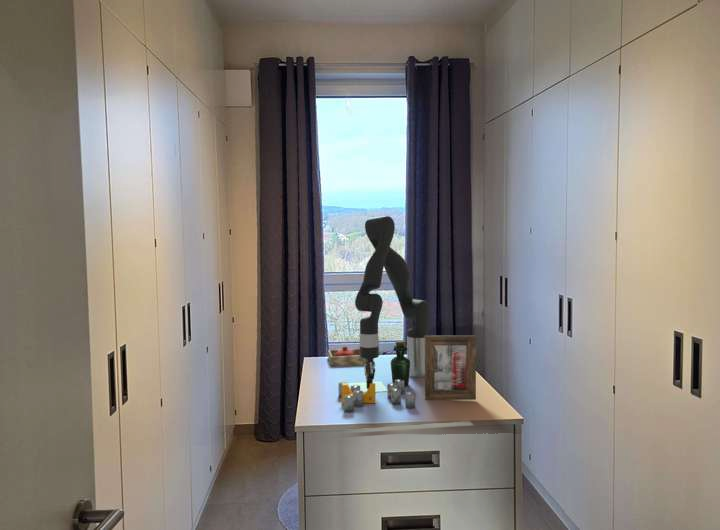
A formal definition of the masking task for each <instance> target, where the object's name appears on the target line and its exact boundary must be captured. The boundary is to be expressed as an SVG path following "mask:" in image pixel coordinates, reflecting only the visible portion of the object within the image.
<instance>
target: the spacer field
mask: <svg viewBox="0 0 720 530" xmlns="http://www.w3.org/2000/svg"><path fill="white" fill-rule="evenodd" d="M343 383H348V382H346V381H341V382H338V384H337V385H338V389H337V390H338V391H337V392H338V398H341V399H342V384H343ZM386 389H387V391H386V393H387V395H386V396H387V397H386V398H387V399H389V400H391V402H390V403H391V404H392V405H393V406H395V405H396V406H398V405H401V404H402V395H404V396H405V397H404V401H405V403H404V407H405V408H407V409H409V410H410V409H411V410H412V409H416V392H414V391H406V392H405V387H404V380H403V379H396V380H395V383H393V382H389V383H387V386H386ZM351 391H352V392H353V396H352V395H346V396H344V404H343V412H344V413H353V412H355V408H362V407H364V403H363V391H360V386H359V385H352V386H351Z"/></svg>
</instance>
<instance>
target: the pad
mask: <svg viewBox="0 0 720 530" xmlns="http://www.w3.org/2000/svg"><path fill="white" fill-rule="evenodd" d="M347 383H348V385H349V388H350V390H351V386H352V385H359V386H360V391H363V393H365V392H366V391H367V390H368V389H367V386H366V382H365V381H363V382H347ZM373 383H375V393H380V392H381V393H382V392H386V393H387V387H386V386H385V385H384V384H383V382H382V381H373Z"/></svg>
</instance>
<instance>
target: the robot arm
mask: <svg viewBox="0 0 720 530" xmlns="http://www.w3.org/2000/svg"><path fill="white" fill-rule="evenodd" d="M395 229H396V227H395V221H394V219H393V218H392V217H391V216H389V215H384V216H383V215H382V216H375V217H371V218H368V219H366V220H365V223H364V231H365V234H366V236H367V239H368V240H369V241H370V244H371V245H372V247H373V248H374V252H373V253H372V255H371V256H370V257H369V260H368V261H367V263H366V265H365V269H364V274H363V281H362V284H361V286H360V288H359V290H358V292H357V293H356V296H355V300H354V305H355V308H356V310H358V311H359V312H367V313H368V312H369V313H370V315H369V316H367V317H362V318H361V319H360V321H359V339H358V340H359V349H360V357H361V358H365V361H364V365H363V366H364V367H363V368H364V376H365V381H366V386H367V389H369V387H370V383H373V382H374V381H373V380H374V379H375V376H376V375H375V374H376V368H375V367H376V362H375V361H374V359H377V358H379V356H380V340H379V339H380V337H379V320H380V317H381V316H380V314H381V313H382V308H383V302H384V301H383V298H382V296H381V295H380V294H378V293H371V292H372V291H375V290H378V289H379V288H381V284H382V279H383V271H384V270H385V273H386V275H387V277H388V279H389V281H390V282H391V283H390V284H391V285H392V288H393V290H394V292H395V294H396V296H397V299H398V303H399V305H400V309H401V311H402V314H403V316H404V317H405V318H406V319H408V320H409V321H415V323H414V326H413V327H411V328H408V329H407V330H406V347H407V350H406V358H408V359H409V360H410V372H409V377H412V378H425V336H429V331H430V328H431V327H430V325H431V322H430V321H431V307H430V304H429V302H428V301H426V300H424V299H423V300H422V299H415V298H414V297H413V295H412V293H411V291H410V282H411V271H410V269H409V267H408V265H407V262H406V260H405V259H404V258H403V257H402V255H400V253H398V252H397V251H396V250H394V249H393V248H392V247H391V246H392V242H393V238H394V236H395V231H396V230H395Z"/></svg>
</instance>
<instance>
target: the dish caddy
mask: <svg viewBox="0 0 720 530" xmlns="http://www.w3.org/2000/svg"><path fill="white" fill-rule="evenodd" d="M348 349H349V348H348ZM340 350H341V349H328V350H327V351H328V352H327V354H328V355H327V356H328V357H327V359H328V361H329V363H330V366H331V367H341V366H344V365H347V366H364V361H365V358H361V357H360V348H350V349H349V350H353V351H354V354H355V356H336V353H337V352H338V351H340Z"/></svg>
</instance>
